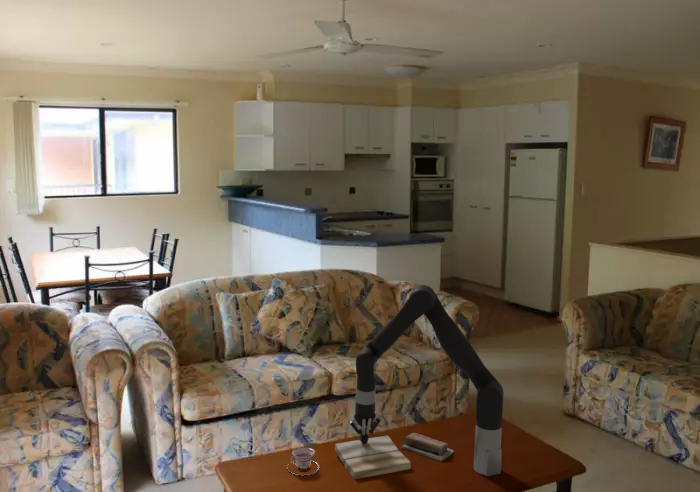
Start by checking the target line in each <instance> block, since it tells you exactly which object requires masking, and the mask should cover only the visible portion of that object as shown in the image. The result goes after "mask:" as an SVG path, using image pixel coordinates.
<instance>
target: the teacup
mask: <svg viewBox="0 0 700 492" xmlns="http://www.w3.org/2000/svg"><path fill="white" fill-rule="evenodd" d="M315 453H316V450H315V449H313V448H310V447H298V448H295V449H293V450H292V452H291V455H290V456H289V459H290V463H293V464H295V465H296V466H297V468H298V469H299V468H300V469H306V470H308V469H307V468H310V465H311V461H313V462H315V463H316V464H317V466H318V467H317V468H318V469H317V470H316V471H315V472H313V473H310V474H305V475H307V476H312V475H314V474H316V473H317V471H318V470H319V471H320V469H319V468H320V464H319V463H318V462H317V461H315V460H313V457H314V455H315ZM293 458H294V459H295V460H293ZM294 461H296V463H294ZM288 465H289V463H288V464H287V466H288ZM287 466H286V470H287V469H288V467H287ZM300 469H299V470H300ZM288 471H289V470H288ZM288 471H287V472H288ZM319 471H318V472H319ZM289 472H290V471H289ZM289 472H288V473H289ZM291 473H292V472H291ZM291 473H290V474H291ZM293 474H295V473H292V474H291V475H293ZM311 474H312V475H311ZM298 475H301V474H295V475H294V476H298ZM301 476H302V477H305V476H304V475H301ZM301 476H300V477H301Z"/></svg>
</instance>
